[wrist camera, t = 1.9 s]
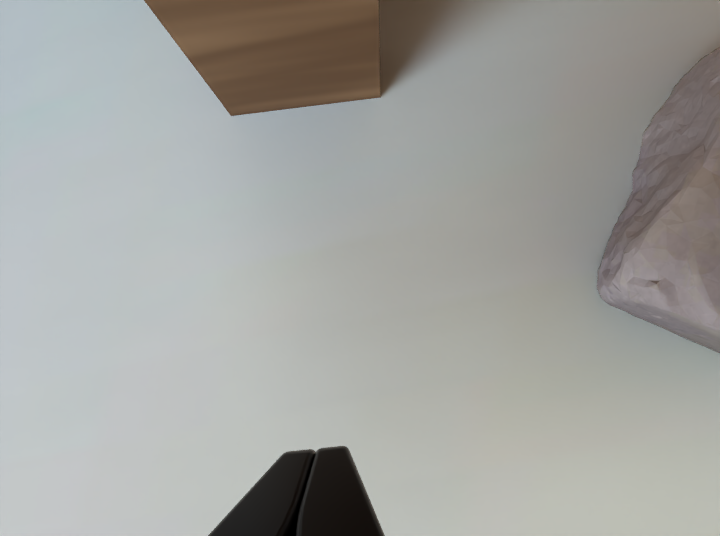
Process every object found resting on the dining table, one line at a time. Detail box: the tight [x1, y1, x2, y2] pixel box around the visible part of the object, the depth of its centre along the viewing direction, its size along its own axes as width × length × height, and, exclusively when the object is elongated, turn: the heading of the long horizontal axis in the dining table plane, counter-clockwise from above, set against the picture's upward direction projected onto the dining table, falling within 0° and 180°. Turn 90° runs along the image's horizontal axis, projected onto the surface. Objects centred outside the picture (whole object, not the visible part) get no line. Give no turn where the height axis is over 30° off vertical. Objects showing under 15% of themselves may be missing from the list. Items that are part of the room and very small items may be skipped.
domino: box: [144, 0, 380, 116], centre depth 16 cm, size 2×5×10 cm, turn 97°
